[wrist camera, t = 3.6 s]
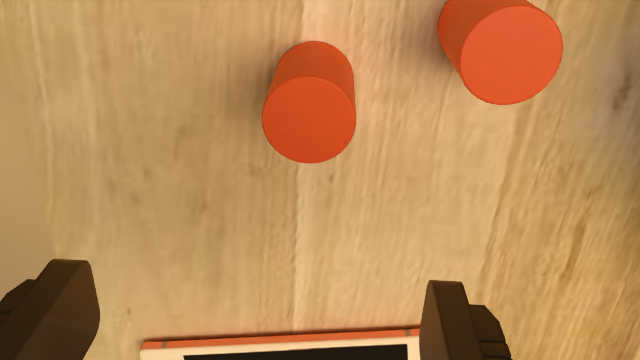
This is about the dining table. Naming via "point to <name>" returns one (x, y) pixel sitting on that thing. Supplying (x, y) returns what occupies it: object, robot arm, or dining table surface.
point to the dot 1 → (500, 47)
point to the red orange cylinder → (310, 104)
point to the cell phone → (293, 347)
